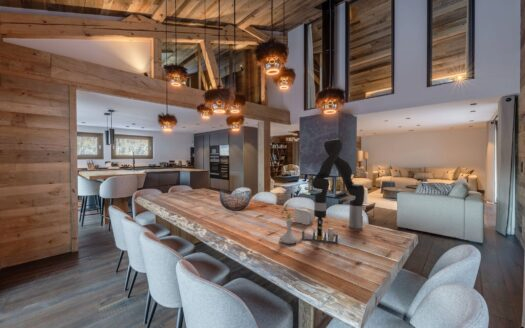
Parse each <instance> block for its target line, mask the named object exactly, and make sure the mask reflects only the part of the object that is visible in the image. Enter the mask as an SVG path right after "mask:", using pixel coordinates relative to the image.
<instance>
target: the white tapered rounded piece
mask: <svg viewBox="0 0 525 328" xmlns="http://www.w3.org/2000/svg"><path fill="white" fill-rule="evenodd" d="M288 205H289V204H288V203H286V204H285V206H284V207H283V209H282V211H281V212H280V215H283V214H284V212H285V211H286V214H287V216H286V219H284V221H285V222H286V228H287V229H286V231H285V233H284V234H282V235H280V238H279V240H280V242H281V243H283V244H288V245H292V244H296V243H297V242H298V241H299V239H298V237H297V236H296V235H295V234H294V233H293V232H292V223H293V222H294V219H291V218H292V216H291V214H290V213H288V211H287V207H288Z"/></svg>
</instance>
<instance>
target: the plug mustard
mask: <svg viewBox="0 0 525 328" xmlns="http://www.w3.org/2000/svg"><path fill="white" fill-rule="evenodd" d="M319 228H321V227H319ZM317 229H318V227H316V237H317V239H322V237H324V236H323V231H324V228H323V227H322V231H321V236H318V230H317Z"/></svg>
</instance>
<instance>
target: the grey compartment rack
mask: <svg viewBox="0 0 525 328" xmlns="http://www.w3.org/2000/svg"><path fill="white" fill-rule="evenodd" d="M305 230H306V229H305V228H303V229H302V232H301V233H302V234H301V240H302V241H307V242H308V241H311V242H318V243H319V242H320V243H328V244H337V245H338V243H339V241H338V240H339V239H338V237H339V234H338V231H335V237H334V240H332V241H331V240H328V237H327V230H324V236H323V237H322V239H317V235H316V229H313V232H312V235H305Z"/></svg>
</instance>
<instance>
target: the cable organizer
mask: <svg viewBox="0 0 525 328" xmlns="http://www.w3.org/2000/svg"><path fill="white" fill-rule="evenodd" d="M315 221H316V217H315V216H314V208H311V207H306V206H300V207H299V208H297V207H296V208H294V209H293V222H295V223H297V224H302V225H304V224H305V226H307V225H310V224H312V223H314V222H315ZM310 222H311V223H310Z"/></svg>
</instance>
